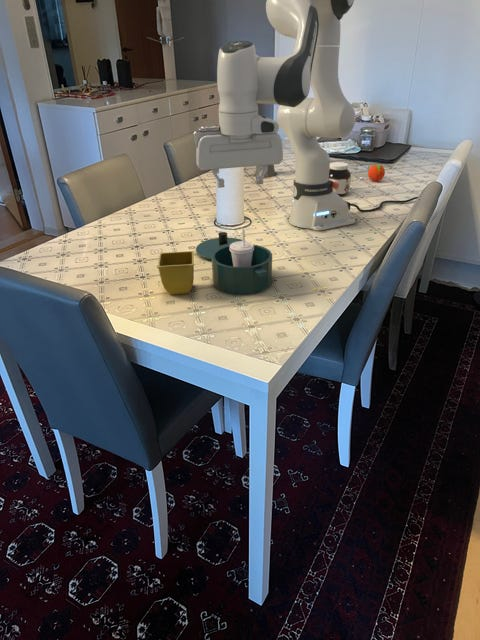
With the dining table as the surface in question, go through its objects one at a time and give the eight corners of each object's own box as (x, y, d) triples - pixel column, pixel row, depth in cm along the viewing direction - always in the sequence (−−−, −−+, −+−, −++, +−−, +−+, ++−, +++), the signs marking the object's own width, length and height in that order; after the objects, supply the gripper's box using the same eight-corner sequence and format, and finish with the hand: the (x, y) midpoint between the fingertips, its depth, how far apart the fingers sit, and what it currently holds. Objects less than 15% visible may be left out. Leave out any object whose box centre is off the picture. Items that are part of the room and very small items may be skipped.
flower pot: (163, 283, 131) (159, 252, 126) (196, 281, 131) (193, 250, 127) (161, 299, 123) (157, 266, 119) (196, 297, 124) (193, 264, 119)
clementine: (386, 184, 205) (388, 166, 202) (369, 184, 205) (371, 167, 202) (381, 178, 212) (383, 162, 208) (365, 179, 212) (367, 162, 209)
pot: (247, 260, 142) (247, 236, 138) (289, 289, 126) (289, 262, 122) (199, 273, 135) (197, 248, 132) (236, 305, 120) (235, 277, 116)
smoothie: (248, 286, 127) (248, 235, 120) (226, 282, 129) (224, 232, 122) (258, 276, 132) (257, 226, 125) (236, 272, 134) (235, 223, 127)
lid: (234, 237, 158) (233, 220, 155) (261, 254, 146) (261, 236, 143) (187, 248, 151) (185, 230, 148) (211, 267, 139) (210, 248, 136)
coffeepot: (276, 170, 228) (276, 129, 218) (282, 175, 220) (282, 133, 210) (243, 173, 225) (243, 132, 216) (248, 178, 217) (248, 136, 208)
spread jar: (336, 199, 189) (338, 168, 183) (313, 192, 197) (315, 163, 191) (355, 192, 196) (358, 162, 190) (333, 186, 204) (335, 158, 197)
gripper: (194, 129, 106) (199, 192, 113) (285, 123, 109) (284, 185, 117) (191, 124, 111) (195, 185, 119) (278, 119, 115) (277, 178, 122)
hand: (240, 185), depth 118 cm, fingers open, 8 cm apart
